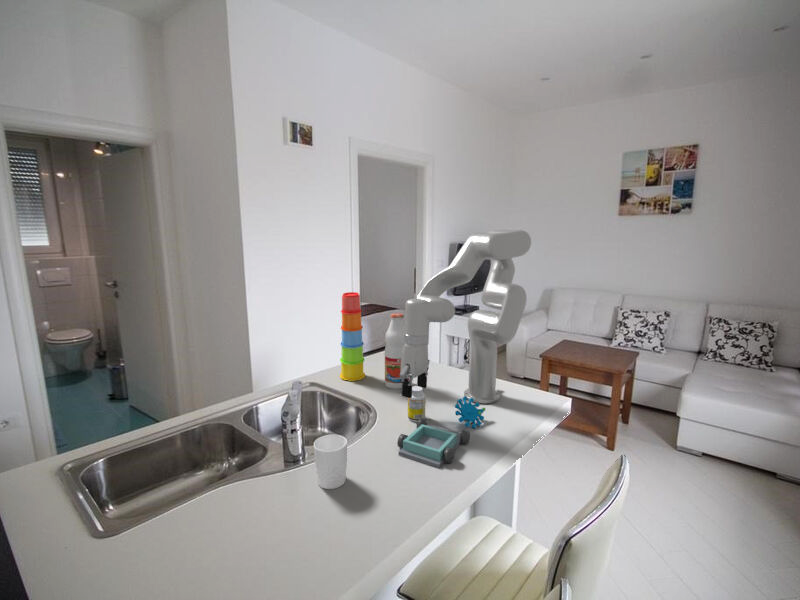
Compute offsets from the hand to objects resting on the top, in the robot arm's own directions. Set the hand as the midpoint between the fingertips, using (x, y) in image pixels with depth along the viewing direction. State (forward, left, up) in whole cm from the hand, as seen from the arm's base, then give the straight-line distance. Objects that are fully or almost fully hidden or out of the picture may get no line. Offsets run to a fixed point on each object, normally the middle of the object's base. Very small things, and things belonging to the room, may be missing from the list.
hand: (414, 391), depth 129 cm
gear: (-7, +16, -10) cm, 20 cm away
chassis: (+11, +12, -9) cm, 19 cm away
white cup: (+38, -2, -9) cm, 39 cm away
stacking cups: (-20, -40, -9) cm, 45 cm away
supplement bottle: (-1, 0, -9) cm, 9 cm away
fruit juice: (-22, -20, -9) cm, 31 cm away
